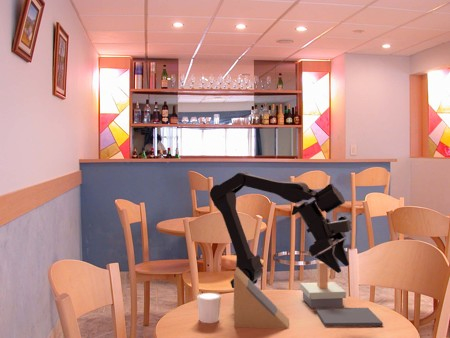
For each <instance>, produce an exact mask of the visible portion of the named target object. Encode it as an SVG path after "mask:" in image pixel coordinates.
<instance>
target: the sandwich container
mask: <svg viewBox="0 0 450 338" xmlns="http://www.w3.org/2000/svg"><path fill="white" fill-rule="evenodd" d="M235 268H236V267H235ZM233 278H234V288H233V327H242V328H255V329H257V328H260V329H262V328H263V329H264V328H265V329H290V319H289V317H288V316H287V315H285V314H284V313H283V311H281V309H279V307H278V306H277V305H276V304H274V303H273V301H272V300H271V299H270V298H268V297H267V296H266V294H265V293H263V291H262V290H260V289H259V287H258V286H257V285H256V284H253V282H252V281H251V280H250V279H249V278H248V277H247V276H246V275H245V274H244V273H243V272H242V271H241V270H240V269H239V268H238V267H237V268H236V269H235V271H234V273H233Z"/></svg>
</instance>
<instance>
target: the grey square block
mask: <svg viewBox="0 0 450 338" xmlns="http://www.w3.org/2000/svg"><path fill="white" fill-rule="evenodd" d="M302 299H303V300H304V302H306V304H307V305H308V306H309V308H311V309H315V308H344V302H343V301H344V298H332V299H309V298H308V297H307V296H306V295H305V294H304V292H303V291H302Z"/></svg>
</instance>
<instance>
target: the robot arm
mask: <svg viewBox="0 0 450 338" xmlns="http://www.w3.org/2000/svg"><path fill="white" fill-rule="evenodd" d="M244 187H247V188H251V189H255V190H260V191H262V192H265V193H267V192H268V193H269V194H270V193H271V194H275V195H276V196H279V197H280V198H282V199H284V200H286V201H288V202H290V203H293V204H296V205H292V211H291V215H292V216H295V215H297V214H299V216H300V218H301V219H302V221H303V222H304V224H305V226H306V228H307V229H306V232H307V233H310V235H311V236H312V238H313V239H314V242H313V244H311V245H309V250H308V252H309V253H310V255H311V256H312V257H314V258H315V259H318V260H319V261H322V262H323V263H325V264H326V265H328V268H330V269H331V270H334V271H335V273H338V274H339V273H341V272H342V268H341V266H340V264H339V262H341V263H342V264H343V265H344V266H346V267H348V266H349V265H350V263H349V259H348V256H347V253H346V252H347V251H346V248H345V243H346V241H347V238H346V237H347V235H346V233H348V232H351V231H352V225H351V224H352V221H351V220H350V218H347V216H346V215H343V216H339V217H338V219H337V220H335V221H331V220H330V219H329V218H325V216H324V214H323V213H322V212H325V213H327V214H329V213H330V212H333V211H334V210H336V209H337V208H339V207H340V206H342V205H344V204H345V203H346V200H345V197H344V196H343V194H342V193H341V191H339V190H338V188H336V187H335V185H334V184H333V183H329V184H327V185H326V186H325V187H324V188H322V189H321V190H319V191H316V190H314V189H312V188H310V187H309V185H308V184H306V183H305V182H301V181H300V182H299V181H281V180H280V181H279V180H275V179H271V178H267V177H262V176H259V175H255V174H251V173H248V172H246V171H244V172H243V171H242V172H237V173H236V174H235V175H233V176H232V177H230V178H229V179H227V180H225V181H224V182H221V183H219V184H215V185H213V186H212V187H211V189H210V191H209V197H210V199H211V201H212V203H213V205H214V206H215V207H214V208H216V209H217V210H218V211H219V213H221V216H222V218H223V221H224V223H225V227H226V230H227V232H228V235H229V238H230V242H231V244H232V247H233V249H234V253H235V256H236V260H235V261H236V262H235V268H237V267H238V268H239V269H240V270H241V271H242V272H243V273H244V274H245V275H246V276H247V277H248V278H249V279H250V280H251V281H252V282H253V284H254V285H256V284H257V283H258V280H259V279H260V278H261V277H262V276H263V272H264V271H263V268H264V265H263V263H262V262H261V257H260V254H256V255H255V254H254V253H253V252H252V251H251V248H250V245H249V243H248V240H247V236H246V234H245V231H244V228H243V226H242V223H241V219H240V218H239V215H238V211H237V195H236V194H237V193H239V192H240V191H241V190H242V189H243V188H244ZM313 199H314V200H313ZM309 200H312V201H311V202H308V201H309ZM301 202H302V203H301ZM297 203H301V204H299V205H297ZM338 261H339V262H338ZM229 282H230V286H231V288H232V289H234V277H233V278H232V279H231V280H230V281H229Z"/></svg>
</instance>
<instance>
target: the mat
mask: <svg viewBox="0 0 450 338" xmlns="http://www.w3.org/2000/svg"><path fill="white" fill-rule="evenodd" d="M314 312H315V313H316V315H317V316H318V318H319V320H320V322H321V323H322V324H323V326H324V327H325V328H326V327H327V328H328V327H329V328H331V327H332V328H333V327H341V328H342V327H383V325H384V323H383V321H382V320H381V319H380V318H379V317H378V316H377V315H376V314H375V313H374V312H373V310H371V309H370V308H369V307H330V308H314Z"/></svg>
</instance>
